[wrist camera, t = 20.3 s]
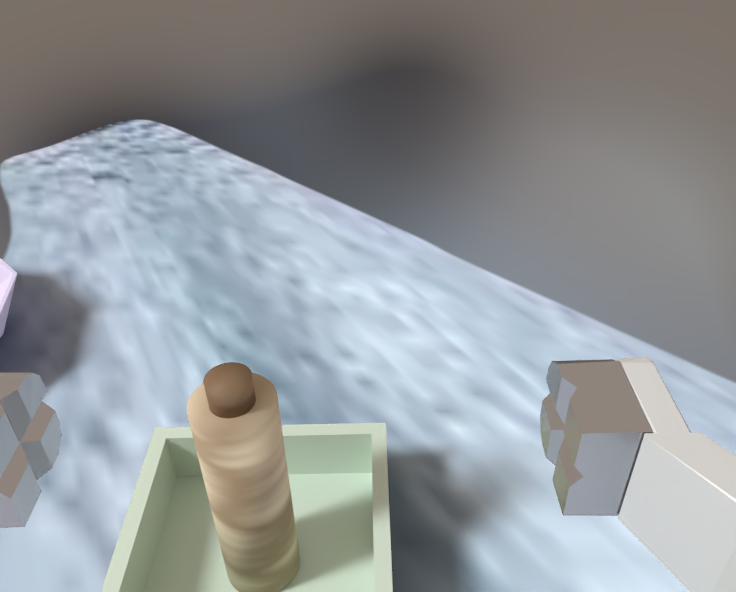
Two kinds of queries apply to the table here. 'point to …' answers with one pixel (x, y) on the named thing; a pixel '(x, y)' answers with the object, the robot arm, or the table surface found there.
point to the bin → (310, 505)
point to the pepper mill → (246, 476)
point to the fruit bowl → (5, 292)
